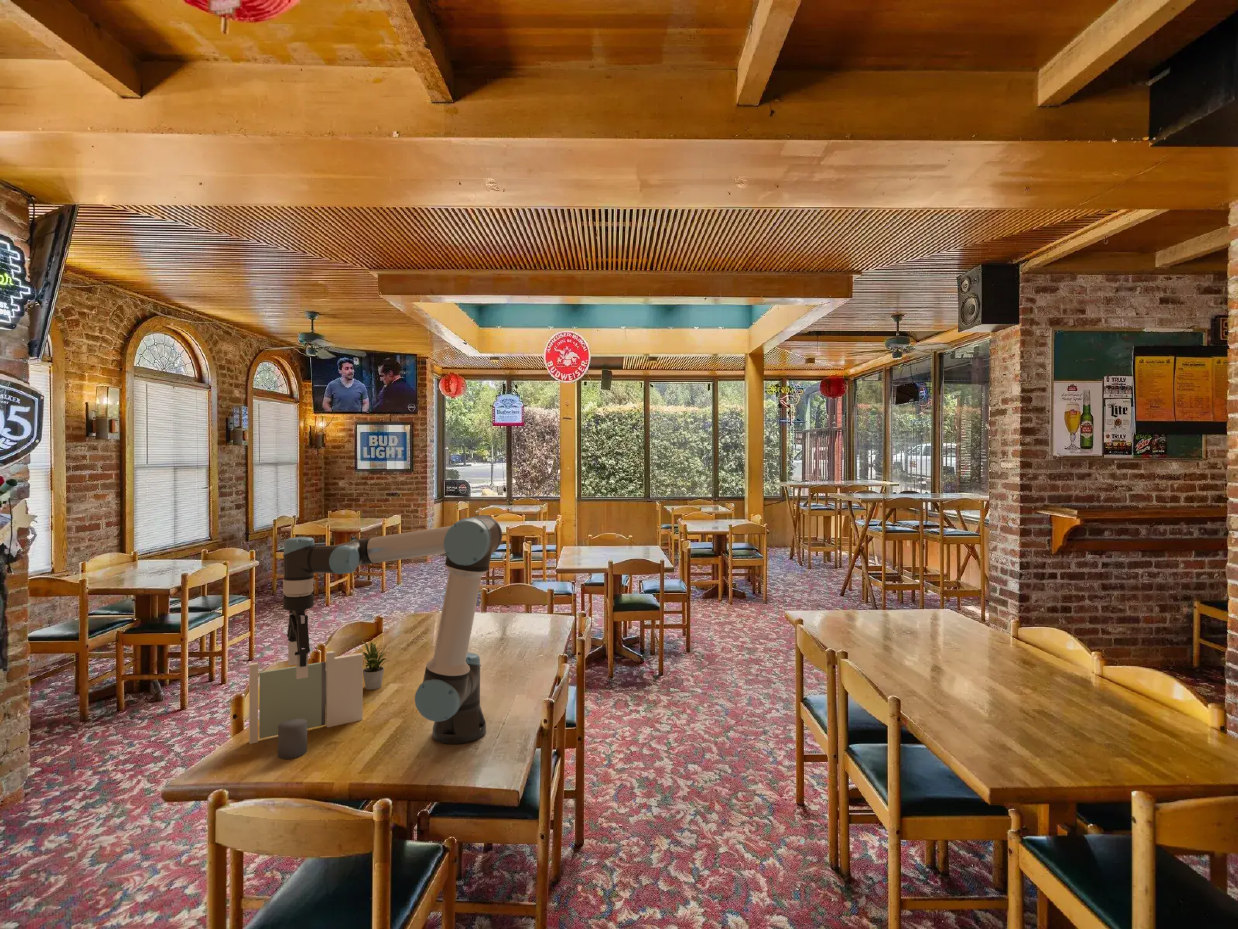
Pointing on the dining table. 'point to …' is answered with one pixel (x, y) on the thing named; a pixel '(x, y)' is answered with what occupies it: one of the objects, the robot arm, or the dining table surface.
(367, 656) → the house plant
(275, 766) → the dining table surface
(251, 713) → the door frame
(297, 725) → the dark brown cylinder
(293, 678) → the door
